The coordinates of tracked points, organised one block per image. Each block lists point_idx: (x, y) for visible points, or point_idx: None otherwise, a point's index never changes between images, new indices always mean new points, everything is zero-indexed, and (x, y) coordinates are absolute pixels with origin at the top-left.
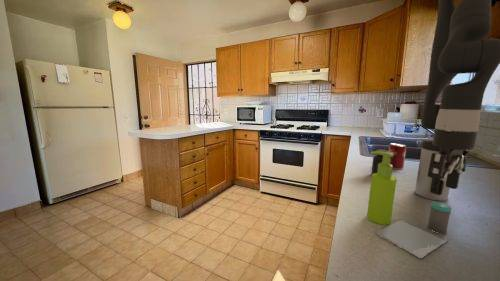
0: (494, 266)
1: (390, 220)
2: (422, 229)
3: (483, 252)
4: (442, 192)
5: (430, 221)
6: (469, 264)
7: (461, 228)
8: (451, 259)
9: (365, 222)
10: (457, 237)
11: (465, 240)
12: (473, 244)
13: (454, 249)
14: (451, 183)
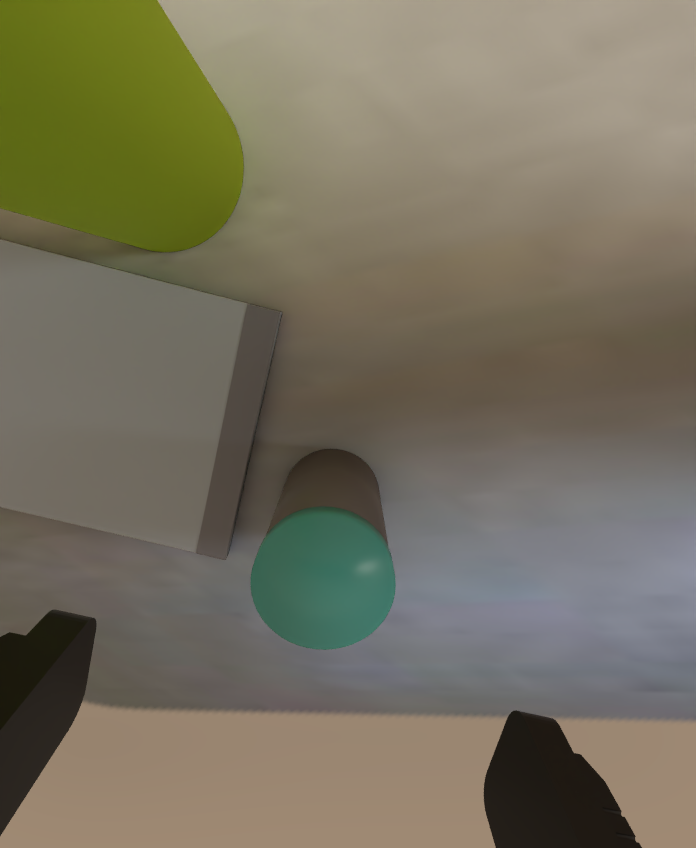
0: (161, 707)
1: (158, 249)
2: (224, 439)
3: (259, 677)
4: (61, 740)
5: (291, 480)
6: None
7: (473, 594)
8: (53, 579)
9: None
10: None
11: None
12: None
13: (169, 583)
14: (516, 810)
